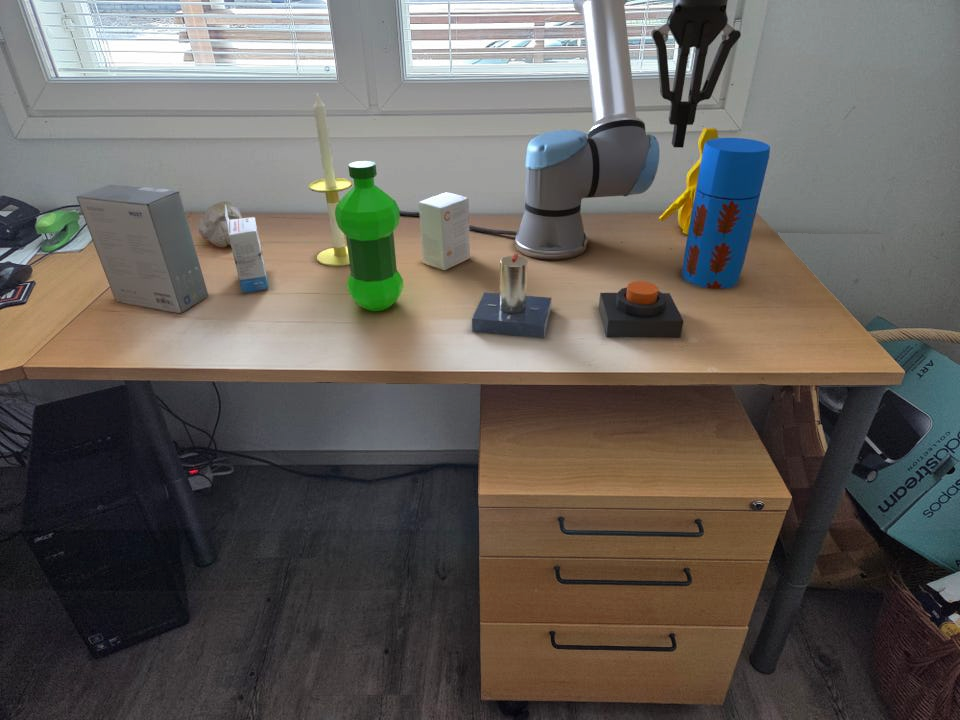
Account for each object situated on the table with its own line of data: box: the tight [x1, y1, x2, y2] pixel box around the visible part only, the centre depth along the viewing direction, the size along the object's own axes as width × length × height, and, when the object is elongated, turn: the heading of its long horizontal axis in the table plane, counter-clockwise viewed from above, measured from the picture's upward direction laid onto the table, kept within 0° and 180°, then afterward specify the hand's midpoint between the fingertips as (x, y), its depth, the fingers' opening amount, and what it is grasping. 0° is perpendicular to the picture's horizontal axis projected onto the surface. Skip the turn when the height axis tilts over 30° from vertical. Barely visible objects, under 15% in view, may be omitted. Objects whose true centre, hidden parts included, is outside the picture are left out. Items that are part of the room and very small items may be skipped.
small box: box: [418, 191, 471, 271], centre depth 123 cm, size 8×6×13 cm
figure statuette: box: [658, 127, 719, 236], centre depth 134 cm, size 18×8×22 cm, turn 86°
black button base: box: [598, 286, 685, 339], centre depth 103 cm, size 12×10×5 cm
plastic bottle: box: [335, 160, 404, 312], centre depth 104 cm, size 10×10×25 cm
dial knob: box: [499, 253, 528, 313], centre depth 101 cm, size 4×4×9 cm
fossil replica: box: [198, 200, 243, 248], centre depth 135 cm, size 12×8×10 cm
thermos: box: [681, 137, 771, 290], centre depth 112 cm, size 11×11×25 cm
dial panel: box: [471, 291, 552, 339], centre depth 105 cm, size 12×10×3 cm
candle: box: [308, 90, 353, 267], centre depth 121 cm, size 10×10×32 cm
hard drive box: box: [76, 184, 209, 314], centre depth 108 cm, size 16×8×20 cm, turn 71°
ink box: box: [225, 205, 269, 294], centre depth 115 cm, size 8×5×15 cm, turn 20°
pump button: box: [626, 280, 660, 304], centre depth 101 cm, size 5×5×2 cm
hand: (677, 145), depth 100 cm, fingers closed
